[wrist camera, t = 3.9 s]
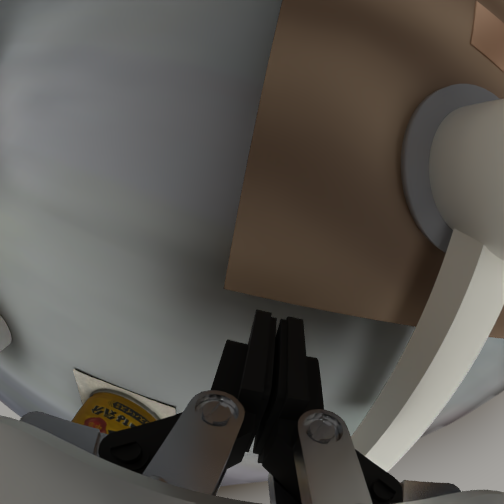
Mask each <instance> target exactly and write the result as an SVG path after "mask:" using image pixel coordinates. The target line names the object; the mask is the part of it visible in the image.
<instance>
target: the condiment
mask: <svg viewBox="0 0 504 504" xmlns="http://www.w3.org/2000/svg"><path fill="white" fill-rule="evenodd" d="M73 371H74V375H75V378H76V382H77V385H78V390H79V393H80V396H81V401H82V403H83V406H82V407H81V408H80V410H79V411H78V412H77V414H76V415H75V417H74V418H73V420H72V421H71V422H74V423H78V424H81V425H85V426H89V427H93V428H97V429H99V431H100V432H101V433H105V434H110V433H113V432H115V431H119V430H123V429H127V428H131V427H135V426H139V425H142V424H146V423H149V422H153V421H156V420H160V419H163V418H166V417H170V416H173V415H176V414H175V413H176V411H175V408H173V407H170V406H166V405H164V404H161V403H157V402H156V401H153V400H149V399H147V398H145V397H142V396H140V395H137V394H134V393H132V392H129V391H127V390H124V389H122V388H118V387H116V386H114V385H110V384H108V383H106V382H103V381H101V380H98V379H95V378H91V377H89V376H87V375H85V374H83V373H80V372H78V371H76V370H75V369H73Z"/></svg>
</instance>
